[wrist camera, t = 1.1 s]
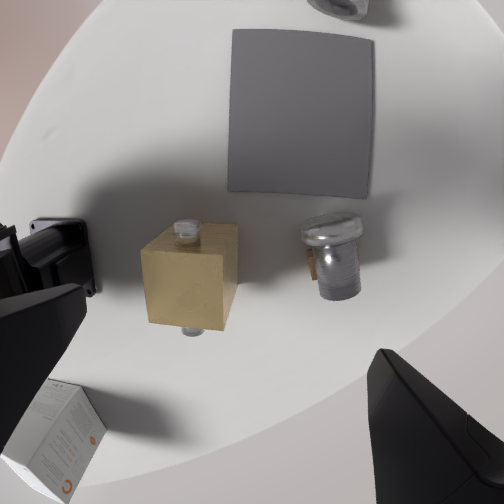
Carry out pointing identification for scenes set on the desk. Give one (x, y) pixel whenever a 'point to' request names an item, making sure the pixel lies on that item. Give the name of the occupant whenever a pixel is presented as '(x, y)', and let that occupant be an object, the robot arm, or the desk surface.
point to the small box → (55, 440)
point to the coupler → (191, 275)
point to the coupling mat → (300, 113)
